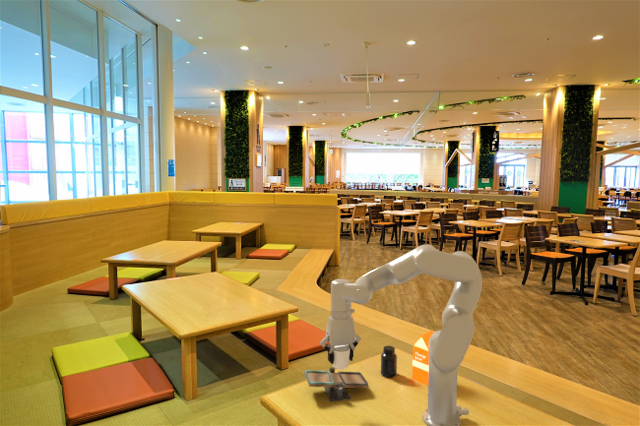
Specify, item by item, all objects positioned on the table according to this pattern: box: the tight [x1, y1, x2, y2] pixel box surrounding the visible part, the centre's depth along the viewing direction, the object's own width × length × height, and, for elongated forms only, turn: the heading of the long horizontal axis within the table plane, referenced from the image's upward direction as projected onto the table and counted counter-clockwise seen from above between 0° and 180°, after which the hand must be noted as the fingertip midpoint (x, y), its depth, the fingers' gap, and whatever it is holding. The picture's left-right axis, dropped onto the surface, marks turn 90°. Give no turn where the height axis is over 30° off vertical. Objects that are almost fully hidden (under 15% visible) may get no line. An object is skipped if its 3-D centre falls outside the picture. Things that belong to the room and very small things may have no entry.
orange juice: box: [412, 330, 434, 386], centre depth 163 cm, size 8×9×20 cm
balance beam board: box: [304, 369, 369, 389], centre depth 153 cm, size 24×10×2 cm, turn 103°
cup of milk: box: [332, 344, 350, 370], centre depth 141 cm, size 7×7×7 cm
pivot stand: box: [323, 366, 352, 403], centre depth 154 cm, size 8×15×6 cm, turn 13°
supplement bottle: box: [380, 345, 398, 379], centre depth 167 cm, size 7×7×12 cm
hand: (340, 360), depth 141 cm, fingers closed on cup of milk, 6 cm apart
